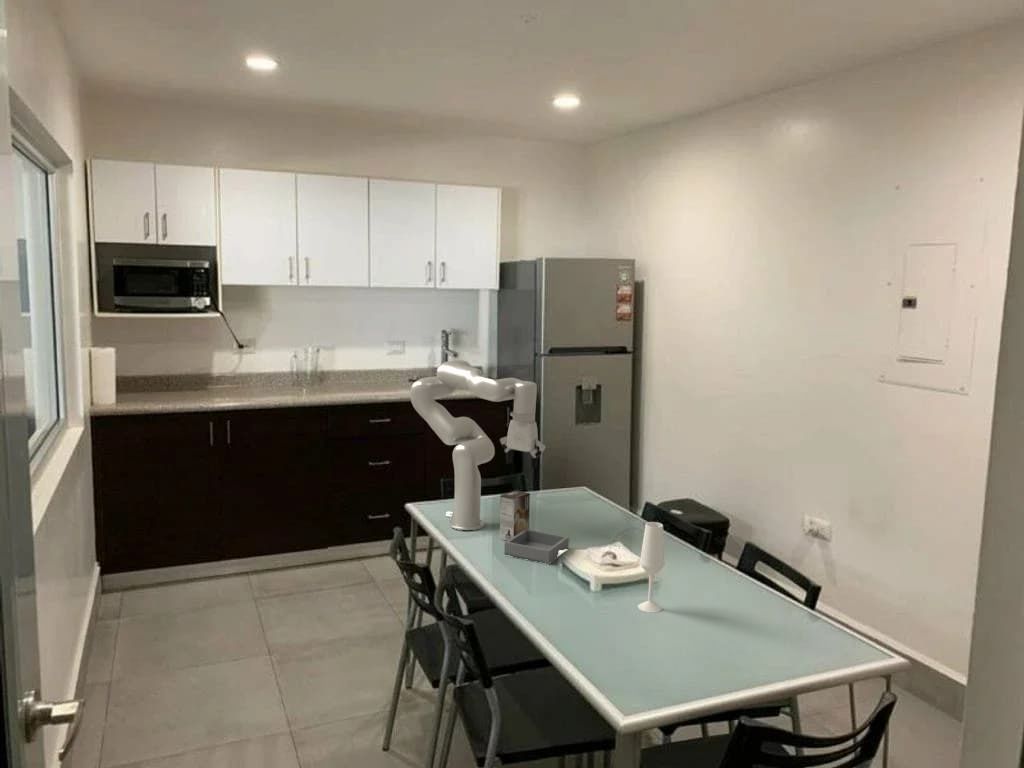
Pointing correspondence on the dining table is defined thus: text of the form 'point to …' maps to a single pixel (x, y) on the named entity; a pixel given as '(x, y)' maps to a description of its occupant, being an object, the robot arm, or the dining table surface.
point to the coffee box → (514, 513)
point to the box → (536, 546)
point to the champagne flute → (652, 560)
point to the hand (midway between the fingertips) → (521, 465)
